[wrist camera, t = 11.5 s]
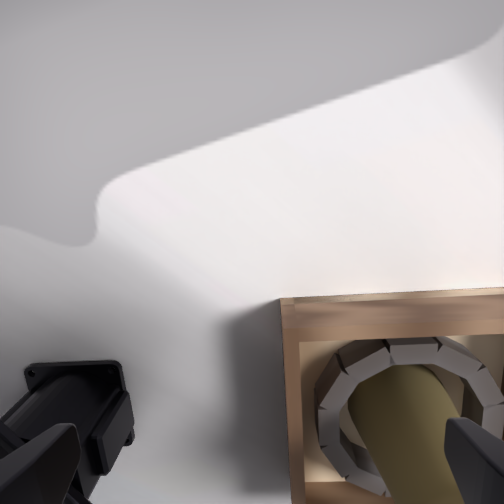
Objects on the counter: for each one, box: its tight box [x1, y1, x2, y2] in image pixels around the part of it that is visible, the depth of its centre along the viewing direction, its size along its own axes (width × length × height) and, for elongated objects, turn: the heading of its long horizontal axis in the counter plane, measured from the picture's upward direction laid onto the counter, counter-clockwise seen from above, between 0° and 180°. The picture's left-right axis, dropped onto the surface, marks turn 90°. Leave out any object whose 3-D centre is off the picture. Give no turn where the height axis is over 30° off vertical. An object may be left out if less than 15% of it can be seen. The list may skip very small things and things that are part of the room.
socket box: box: [280, 287, 504, 504], centre depth 21 cm, size 14×14×4 cm
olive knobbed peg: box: [348, 364, 464, 504], centre depth 16 cm, size 6×6×11 cm
